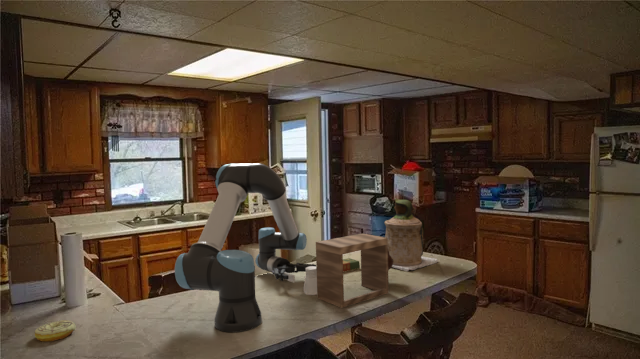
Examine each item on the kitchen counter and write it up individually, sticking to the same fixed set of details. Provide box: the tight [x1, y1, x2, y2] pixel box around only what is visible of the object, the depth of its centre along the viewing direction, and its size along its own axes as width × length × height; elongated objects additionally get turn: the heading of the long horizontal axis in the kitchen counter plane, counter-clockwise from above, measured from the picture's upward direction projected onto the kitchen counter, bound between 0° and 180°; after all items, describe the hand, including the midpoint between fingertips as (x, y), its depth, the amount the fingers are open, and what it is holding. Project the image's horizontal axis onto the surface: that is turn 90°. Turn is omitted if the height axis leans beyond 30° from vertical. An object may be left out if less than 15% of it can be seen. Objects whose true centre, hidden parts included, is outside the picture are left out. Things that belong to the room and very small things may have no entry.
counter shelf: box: [315, 233, 390, 309], centre depth 165 cm, size 24×14×22 cm, turn 128°
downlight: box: [302, 266, 317, 296], centre depth 171 cm, size 8×7×10 cm
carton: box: [343, 257, 361, 273], centre depth 204 cm, size 8×16×4 cm, turn 122°
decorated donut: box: [34, 319, 77, 343], centre depth 136 cm, size 10×11×4 cm
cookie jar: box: [384, 197, 439, 273], centre depth 212 cm, size 25×25×32 cm
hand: (307, 275), depth 174 cm, fingers open, 13 cm apart
